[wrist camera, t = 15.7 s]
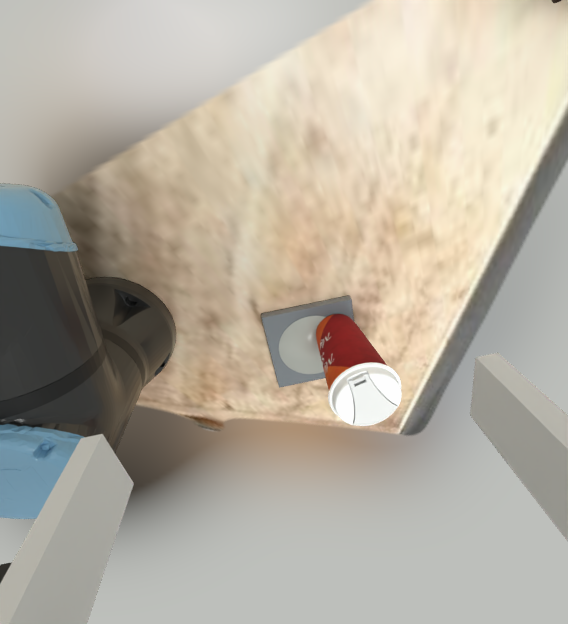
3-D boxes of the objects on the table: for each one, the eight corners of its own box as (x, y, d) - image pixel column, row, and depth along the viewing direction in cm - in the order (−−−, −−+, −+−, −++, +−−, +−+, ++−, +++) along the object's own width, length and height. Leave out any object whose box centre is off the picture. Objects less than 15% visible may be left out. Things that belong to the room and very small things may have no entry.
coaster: (278, 382, 52) (279, 387, 50) (261, 313, 46) (261, 318, 45) (356, 366, 51) (359, 371, 50) (349, 295, 46) (351, 299, 45)
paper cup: (298, 321, 45) (319, 390, 33) (352, 297, 44) (394, 358, 32) (320, 364, 49) (347, 440, 36) (370, 341, 48) (414, 413, 36)
